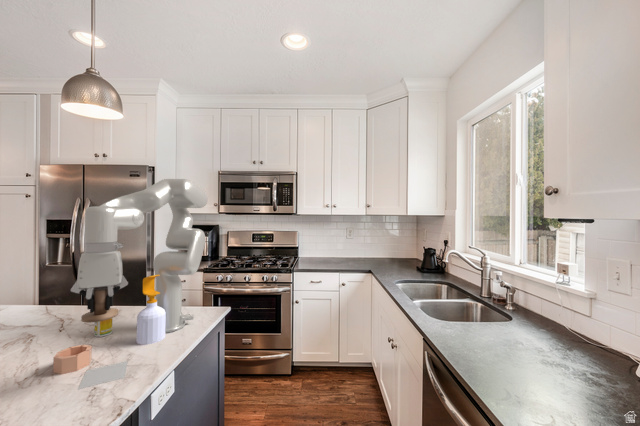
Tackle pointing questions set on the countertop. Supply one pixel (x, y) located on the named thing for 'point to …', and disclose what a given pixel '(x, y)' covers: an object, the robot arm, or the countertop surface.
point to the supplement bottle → (103, 328)
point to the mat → (103, 374)
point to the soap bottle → (150, 316)
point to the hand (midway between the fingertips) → (100, 309)
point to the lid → (99, 308)
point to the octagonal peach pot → (72, 359)
